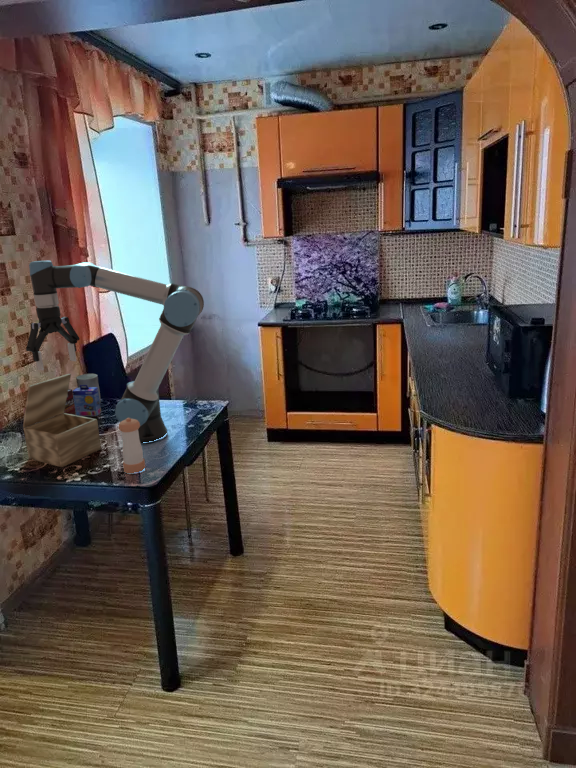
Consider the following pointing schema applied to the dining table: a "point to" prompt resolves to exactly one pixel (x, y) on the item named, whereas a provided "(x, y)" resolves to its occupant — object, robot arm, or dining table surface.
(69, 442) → the wooden box
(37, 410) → the lid flap
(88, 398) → the ink cartridge box
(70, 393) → the supplement box
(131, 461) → the salt shaker
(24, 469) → the dining table surface
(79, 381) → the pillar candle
